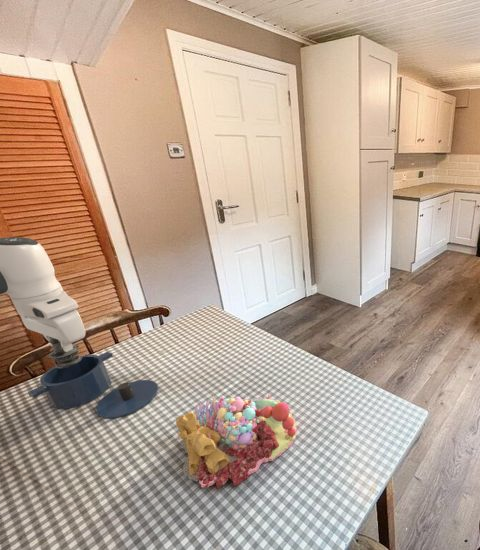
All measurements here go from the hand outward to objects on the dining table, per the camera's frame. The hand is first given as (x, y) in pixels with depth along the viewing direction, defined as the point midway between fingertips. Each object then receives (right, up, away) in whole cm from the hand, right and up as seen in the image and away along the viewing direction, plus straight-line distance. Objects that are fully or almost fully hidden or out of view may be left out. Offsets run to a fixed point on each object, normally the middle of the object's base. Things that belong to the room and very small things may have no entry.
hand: (62, 348), depth 80 cm
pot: (0, -14, +6) cm, 15 cm away
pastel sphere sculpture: (+50, -20, -8) cm, 55 cm away
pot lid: (+15, -15, +3) cm, 21 cm away
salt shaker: (0, -4, +2) cm, 5 cm away
